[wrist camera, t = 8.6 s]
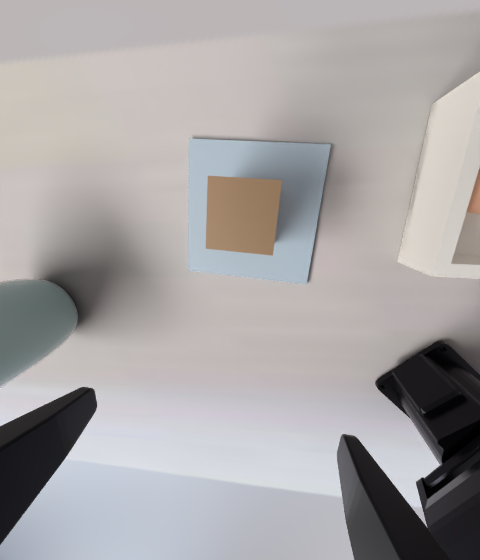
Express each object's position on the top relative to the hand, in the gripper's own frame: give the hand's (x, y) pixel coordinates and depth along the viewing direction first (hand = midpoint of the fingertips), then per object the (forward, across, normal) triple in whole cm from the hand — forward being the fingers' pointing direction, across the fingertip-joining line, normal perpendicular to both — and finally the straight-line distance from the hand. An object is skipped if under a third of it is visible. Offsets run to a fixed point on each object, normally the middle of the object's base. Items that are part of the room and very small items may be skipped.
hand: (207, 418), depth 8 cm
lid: (+13, 0, -7) cm, 14 cm away
